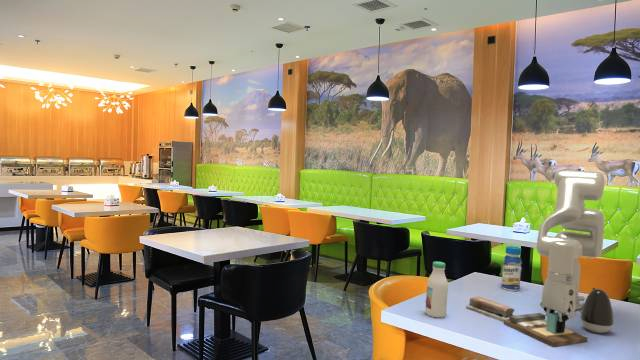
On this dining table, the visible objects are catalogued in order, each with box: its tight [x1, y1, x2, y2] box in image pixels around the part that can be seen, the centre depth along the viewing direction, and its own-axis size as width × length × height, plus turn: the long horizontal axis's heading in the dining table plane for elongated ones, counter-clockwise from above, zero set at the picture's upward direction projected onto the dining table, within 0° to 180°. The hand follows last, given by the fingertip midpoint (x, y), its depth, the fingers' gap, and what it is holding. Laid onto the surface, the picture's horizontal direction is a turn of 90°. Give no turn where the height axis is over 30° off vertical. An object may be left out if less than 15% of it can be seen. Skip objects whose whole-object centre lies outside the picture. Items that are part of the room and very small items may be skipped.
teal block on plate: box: [532, 311, 574, 337], centre depth 157 cm, size 13×6×6 cm, turn 113°
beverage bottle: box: [500, 245, 523, 292], centre depth 217 cm, size 8×8×20 cm
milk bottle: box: [424, 261, 449, 319], centre depth 173 cm, size 8×8×20 cm
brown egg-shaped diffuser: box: [580, 287, 615, 334], centre depth 166 cm, size 10×10×15 cm
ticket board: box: [503, 312, 588, 348], centre depth 161 cm, size 16×21×4 cm
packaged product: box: [465, 296, 517, 323], centre depth 179 cm, size 18×5×10 cm
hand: (555, 329), depth 157 cm, fingers closed on teal block on plate, 3 cm apart
